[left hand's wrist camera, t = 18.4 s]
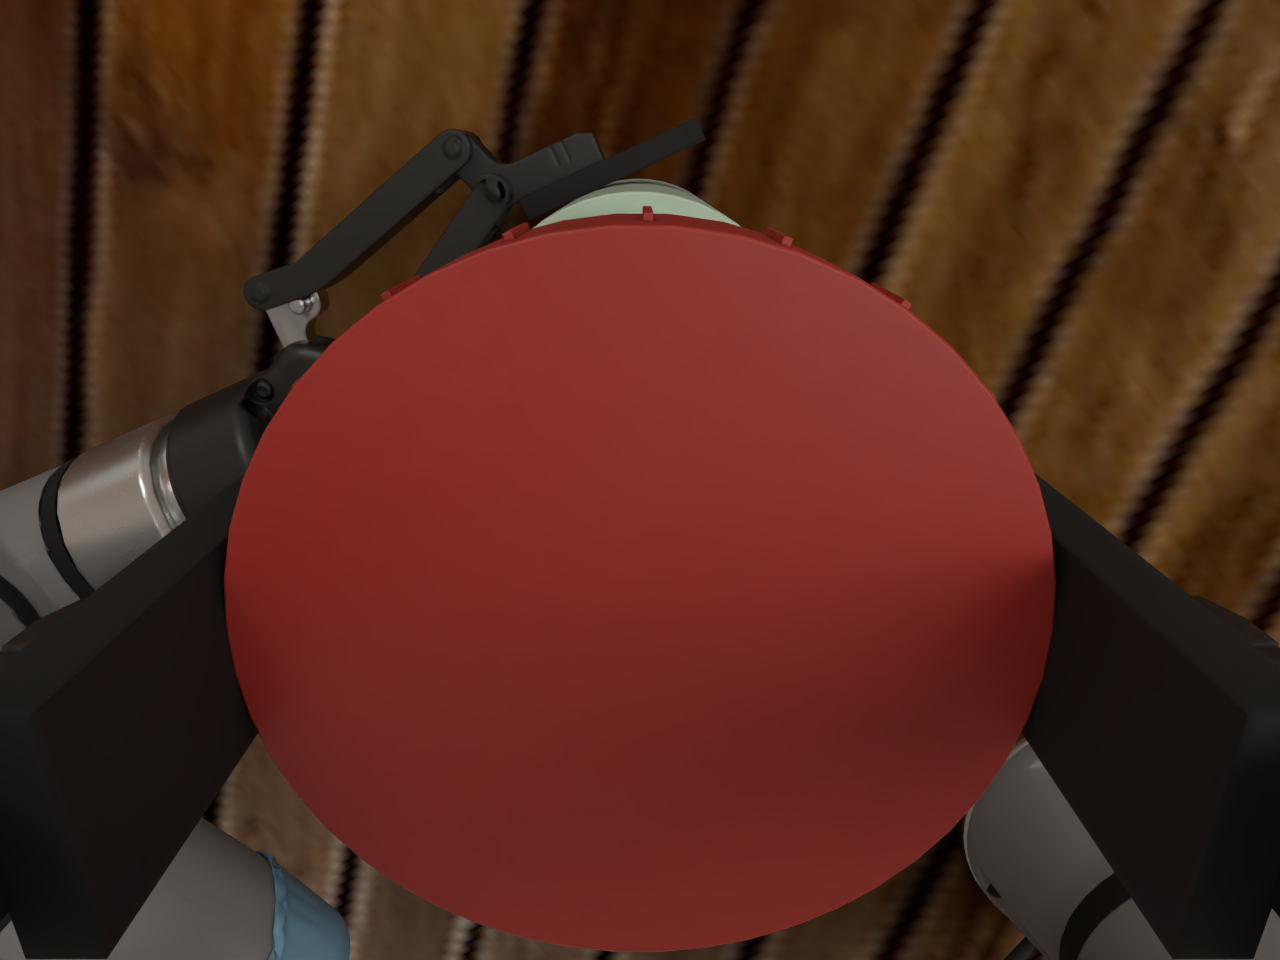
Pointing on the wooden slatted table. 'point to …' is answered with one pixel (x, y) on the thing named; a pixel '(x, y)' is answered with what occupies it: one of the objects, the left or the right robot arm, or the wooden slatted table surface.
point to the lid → (639, 585)
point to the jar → (637, 202)
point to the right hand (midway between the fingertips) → (749, 267)
